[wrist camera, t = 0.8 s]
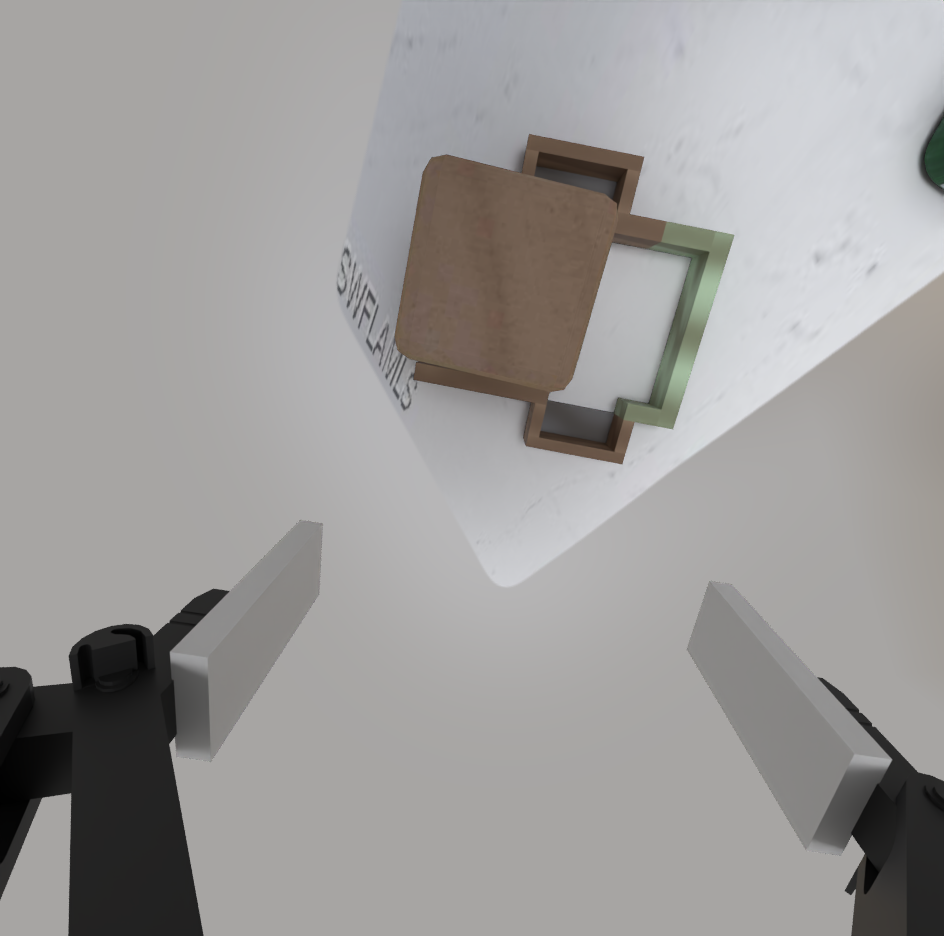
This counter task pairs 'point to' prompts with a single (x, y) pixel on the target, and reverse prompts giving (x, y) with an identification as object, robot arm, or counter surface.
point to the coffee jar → (936, 156)
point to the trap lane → (709, 252)
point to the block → (502, 272)
